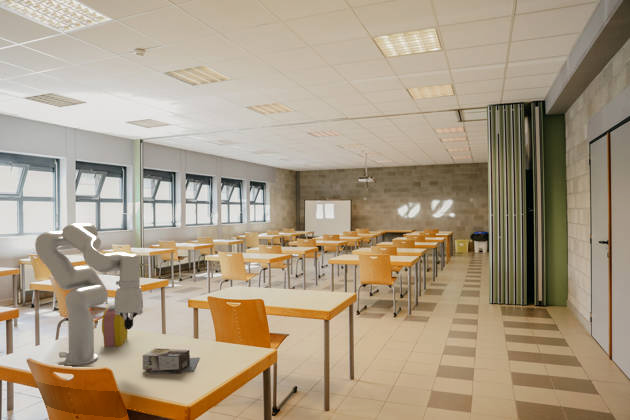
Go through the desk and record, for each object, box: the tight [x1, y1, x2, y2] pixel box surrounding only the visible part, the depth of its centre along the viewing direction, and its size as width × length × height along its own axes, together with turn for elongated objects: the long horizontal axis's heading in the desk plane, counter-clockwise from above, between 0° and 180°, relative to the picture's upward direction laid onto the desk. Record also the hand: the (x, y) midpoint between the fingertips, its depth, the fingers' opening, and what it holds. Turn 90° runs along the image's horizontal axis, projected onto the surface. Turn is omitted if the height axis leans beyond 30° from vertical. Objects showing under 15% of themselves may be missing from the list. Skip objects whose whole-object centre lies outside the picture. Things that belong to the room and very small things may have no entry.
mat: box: [149, 357, 200, 375], centre depth 174 cm, size 17×15×1 cm
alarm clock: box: [101, 304, 128, 348], centre depth 206 cm, size 15×8×18 cm, turn 10°
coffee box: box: [142, 348, 191, 373], centre depth 171 cm, size 9×6×16 cm
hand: (128, 328), depth 173 cm, fingers closed
